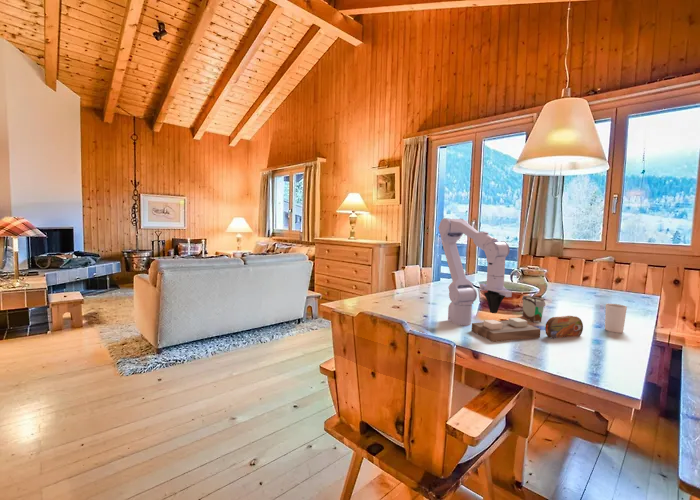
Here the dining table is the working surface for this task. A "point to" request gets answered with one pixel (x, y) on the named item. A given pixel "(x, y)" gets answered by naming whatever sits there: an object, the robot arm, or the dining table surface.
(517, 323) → the key back
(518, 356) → the dining table surface
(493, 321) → the pale pink block
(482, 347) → the dining table surface
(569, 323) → the tin
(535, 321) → the food container
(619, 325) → the beige cup
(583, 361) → the dining table surface
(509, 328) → the panel
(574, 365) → the dining table surface
